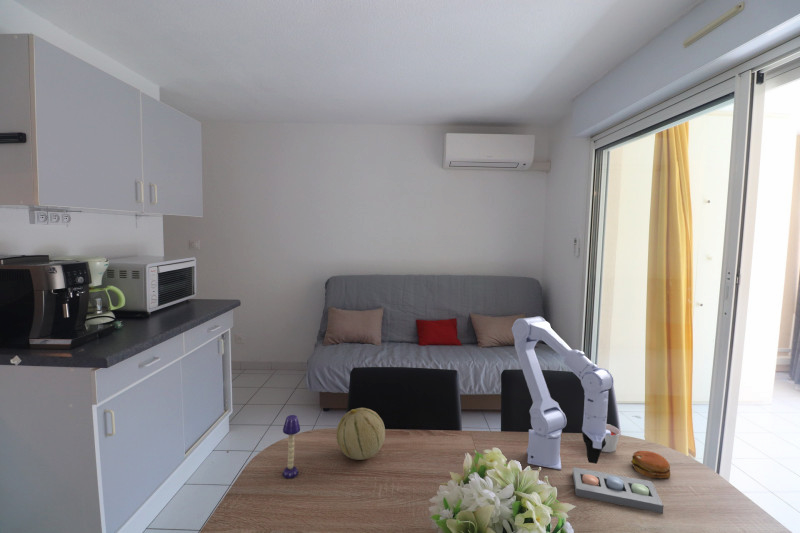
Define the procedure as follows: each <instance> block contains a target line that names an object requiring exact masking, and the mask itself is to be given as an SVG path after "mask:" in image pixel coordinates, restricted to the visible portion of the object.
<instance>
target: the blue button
mask: <svg viewBox="0 0 800 533" xmlns="http://www.w3.org/2000/svg"><path fill="white" fill-rule="evenodd" d="M623 483H624V482H623V481H622V480H621V479H619V478H617V477H614V476H609V477H607V483H606V488H609V489H614V490H620V491H623Z"/></svg>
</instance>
